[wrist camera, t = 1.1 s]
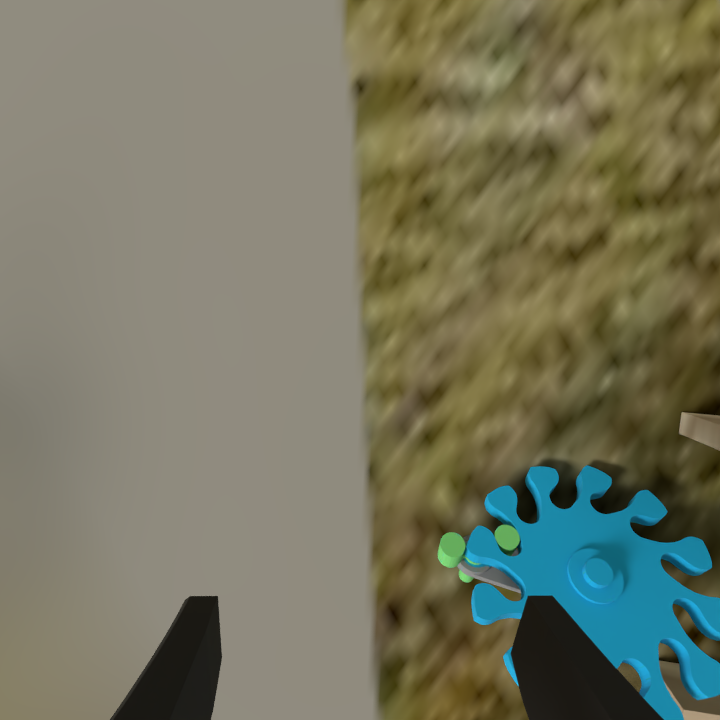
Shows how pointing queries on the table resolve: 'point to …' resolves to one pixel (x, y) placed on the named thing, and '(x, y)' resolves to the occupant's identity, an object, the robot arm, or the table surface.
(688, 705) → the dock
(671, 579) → the gear
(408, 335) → the table surface
